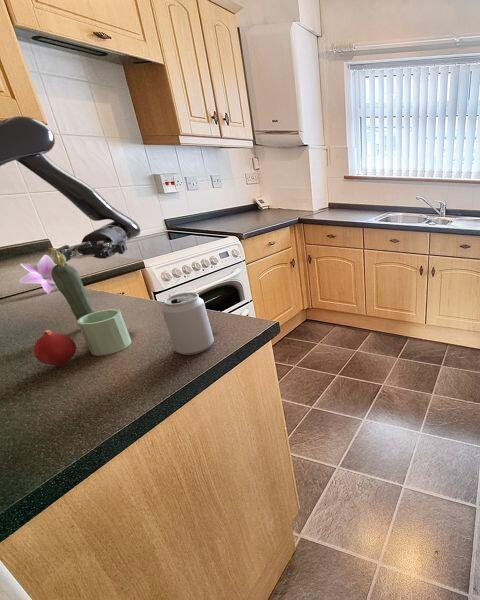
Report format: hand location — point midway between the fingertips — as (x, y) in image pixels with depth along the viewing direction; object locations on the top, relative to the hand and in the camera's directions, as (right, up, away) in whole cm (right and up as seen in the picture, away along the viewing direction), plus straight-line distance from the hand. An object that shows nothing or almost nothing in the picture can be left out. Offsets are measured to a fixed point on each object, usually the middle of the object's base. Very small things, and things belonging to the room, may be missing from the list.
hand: (82, 256), depth 85 cm
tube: (+17, -21, -11) cm, 30 cm away
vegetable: (+5, -18, -3) cm, 19 cm away
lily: (-29, -8, +20) cm, 36 cm away
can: (+36, -21, -12) cm, 43 cm away
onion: (+13, -24, -18) cm, 32 cm away
